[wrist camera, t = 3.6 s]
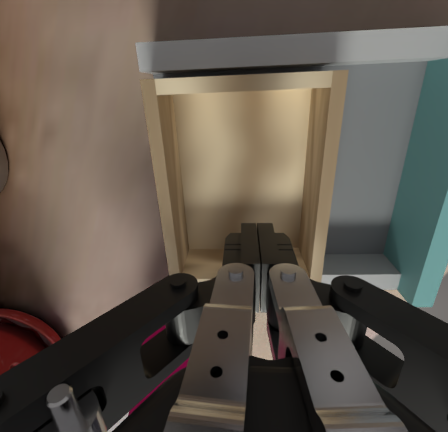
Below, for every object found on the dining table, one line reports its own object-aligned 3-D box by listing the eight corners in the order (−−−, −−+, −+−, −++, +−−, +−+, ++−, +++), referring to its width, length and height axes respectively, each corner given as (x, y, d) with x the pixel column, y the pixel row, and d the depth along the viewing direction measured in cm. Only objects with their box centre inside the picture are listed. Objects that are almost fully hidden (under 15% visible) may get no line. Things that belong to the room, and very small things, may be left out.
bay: (180, 263, 27) (166, 307, 22) (154, 51, 20) (122, 36, 14) (391, 261, 26) (432, 307, 21) (447, 35, 19) (535, 13, 13)
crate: (182, 252, 25) (170, 287, 21) (162, 81, 19) (139, 79, 15) (305, 250, 25) (320, 287, 20) (321, 74, 19) (348, 69, 14)
